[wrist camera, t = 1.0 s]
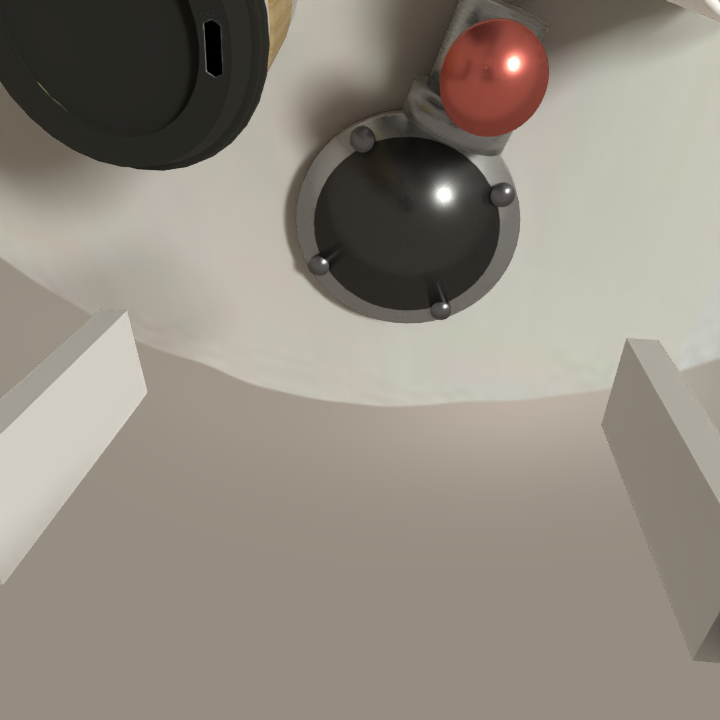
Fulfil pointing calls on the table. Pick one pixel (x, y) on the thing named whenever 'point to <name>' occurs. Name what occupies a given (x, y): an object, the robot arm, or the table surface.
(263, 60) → the coffee cup
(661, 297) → the table surface
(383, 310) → the metal device with knob
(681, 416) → the robot arm
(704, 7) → the mug
